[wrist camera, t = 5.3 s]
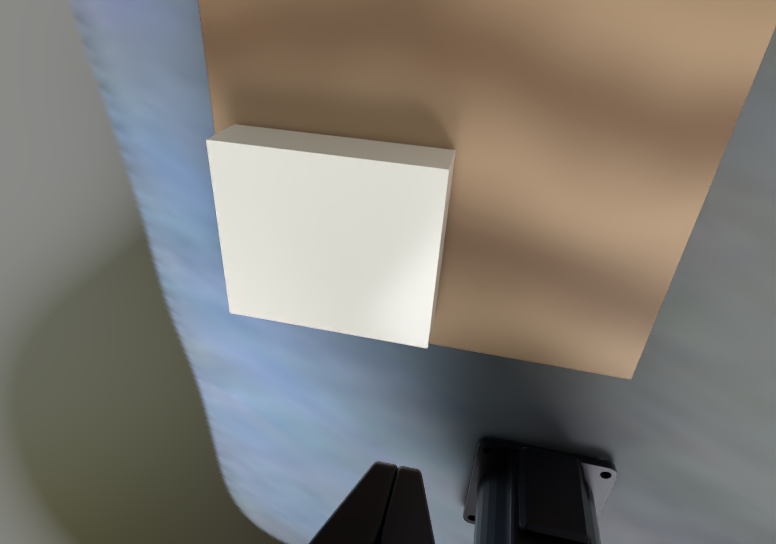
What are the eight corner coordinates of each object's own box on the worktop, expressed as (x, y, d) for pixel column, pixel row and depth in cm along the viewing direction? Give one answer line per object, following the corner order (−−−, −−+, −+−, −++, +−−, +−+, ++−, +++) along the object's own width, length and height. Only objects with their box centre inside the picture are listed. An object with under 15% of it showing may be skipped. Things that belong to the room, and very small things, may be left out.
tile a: (427, 348, 19) (229, 312, 20) (435, 315, 21) (253, 284, 22) (449, 169, 15) (206, 139, 16) (455, 148, 17) (236, 123, 18)
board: (626, 363, 21) (630, 379, 20) (247, 297, 24) (237, 309, 23) (971, -513, 10) (1016, -561, 9) (162, -451, 12) (136, -482, 11)
